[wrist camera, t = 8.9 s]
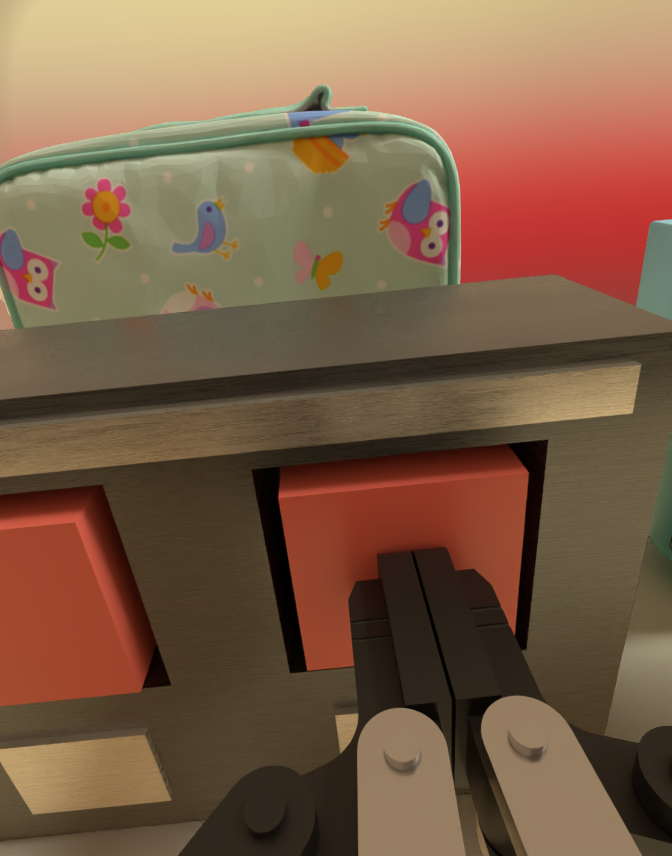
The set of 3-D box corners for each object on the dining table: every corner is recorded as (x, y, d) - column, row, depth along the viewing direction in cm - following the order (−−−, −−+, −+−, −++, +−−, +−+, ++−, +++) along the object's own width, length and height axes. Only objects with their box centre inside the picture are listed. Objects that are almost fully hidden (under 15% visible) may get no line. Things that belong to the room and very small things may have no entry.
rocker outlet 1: (186, 554, 17) (147, 416, 15) (140, 692, 12) (75, 522, 10) (34, 569, 17) (-28, 433, 15) (-67, 712, 12) (-178, 548, 10)
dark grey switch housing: (521, 625, 21) (554, 274, 15) (597, 787, 15) (701, 332, 9) (34, 674, 21) (-136, 343, 15) (-66, 854, 15) (-403, 444, 9)
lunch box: (446, 403, 41) (448, 87, 32) (480, 469, 32) (496, 51, 23) (120, 432, 42) (27, 132, 33) (60, 504, 33) (-93, 114, 23)
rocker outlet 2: (459, 524, 17) (462, 382, 15) (513, 649, 12) (529, 472, 10) (308, 539, 17) (288, 400, 15) (306, 670, 12) (278, 498, 10)
